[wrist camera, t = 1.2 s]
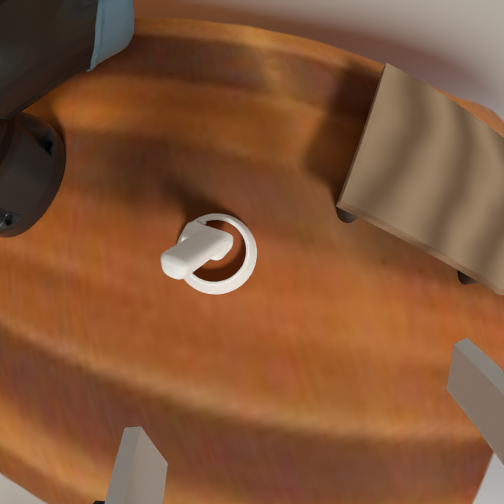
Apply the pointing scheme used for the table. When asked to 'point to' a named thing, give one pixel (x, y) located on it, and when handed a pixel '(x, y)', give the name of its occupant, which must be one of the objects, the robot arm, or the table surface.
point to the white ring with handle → (208, 254)
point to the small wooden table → (430, 178)
